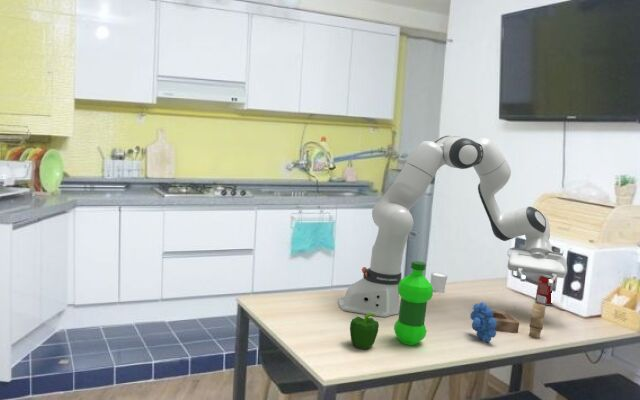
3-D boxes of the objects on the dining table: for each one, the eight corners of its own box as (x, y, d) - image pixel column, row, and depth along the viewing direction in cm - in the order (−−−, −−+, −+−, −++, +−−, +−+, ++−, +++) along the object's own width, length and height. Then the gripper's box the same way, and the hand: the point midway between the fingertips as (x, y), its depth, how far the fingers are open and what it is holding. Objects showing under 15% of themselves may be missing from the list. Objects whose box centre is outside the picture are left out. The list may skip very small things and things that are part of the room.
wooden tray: (483, 329, 187) (484, 319, 187) (473, 317, 199) (474, 308, 199) (517, 332, 188) (519, 323, 187) (505, 320, 200) (507, 311, 199)
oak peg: (530, 338, 184) (535, 306, 182) (526, 333, 188) (530, 302, 186) (543, 339, 184) (548, 307, 182) (538, 334, 188) (542, 304, 187)
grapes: (458, 333, 181) (463, 298, 180) (474, 332, 184) (479, 297, 183) (482, 347, 171) (488, 310, 169) (499, 345, 174) (504, 309, 172)
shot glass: (447, 291, 232) (449, 275, 231) (442, 294, 226) (444, 277, 225) (432, 287, 236) (434, 271, 235) (426, 290, 230) (428, 274, 229)
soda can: (544, 306, 224) (549, 278, 222) (531, 301, 229) (535, 273, 228) (555, 305, 227) (560, 277, 225) (542, 300, 233) (547, 273, 231)
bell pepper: (348, 350, 157) (352, 316, 156) (347, 339, 166) (351, 307, 164) (377, 353, 157) (381, 319, 156) (374, 342, 166) (378, 310, 164)
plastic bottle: (421, 336, 174) (431, 260, 171) (428, 350, 164) (439, 268, 161) (389, 333, 174) (399, 257, 171) (395, 346, 163) (405, 265, 160)
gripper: (509, 242, 204) (507, 273, 196) (568, 250, 199) (568, 283, 191) (506, 251, 209) (504, 282, 201) (563, 259, 204) (564, 292, 196)
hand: (536, 282), depth 196 cm, fingers open, 8 cm apart
